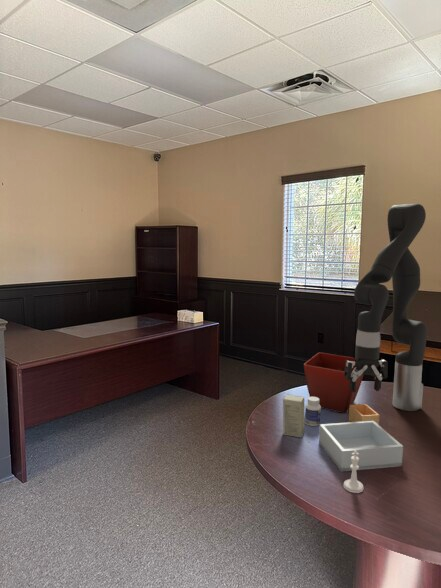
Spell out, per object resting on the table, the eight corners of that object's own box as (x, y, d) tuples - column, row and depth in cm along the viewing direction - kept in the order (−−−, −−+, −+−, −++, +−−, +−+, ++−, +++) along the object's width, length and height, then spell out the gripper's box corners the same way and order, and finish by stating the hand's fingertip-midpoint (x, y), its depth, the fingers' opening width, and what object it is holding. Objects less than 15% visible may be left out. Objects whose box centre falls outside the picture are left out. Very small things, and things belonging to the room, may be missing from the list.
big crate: (372, 438, 131) (373, 420, 131) (401, 466, 116) (403, 446, 115) (318, 442, 129) (319, 424, 128) (341, 471, 113) (342, 451, 112)
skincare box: (304, 432, 135) (305, 397, 133) (301, 438, 131) (302, 401, 130) (285, 428, 138) (286, 393, 136) (281, 434, 134) (282, 398, 132)
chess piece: (340, 481, 108) (342, 446, 107) (358, 481, 109) (360, 445, 107) (347, 493, 104) (349, 456, 102) (366, 492, 104) (368, 455, 103)
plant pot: (365, 400, 161) (367, 359, 158) (353, 419, 145) (355, 373, 142) (317, 391, 171) (318, 351, 168) (301, 407, 154) (302, 364, 152)
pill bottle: (320, 427, 139) (321, 402, 138) (304, 425, 140) (305, 401, 139) (320, 420, 144) (321, 396, 143) (304, 419, 145) (305, 395, 144)
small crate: (364, 420, 144) (365, 403, 143) (378, 432, 136) (379, 415, 135) (348, 421, 143) (349, 404, 142) (361, 433, 135) (362, 416, 134)
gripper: (381, 340, 140) (378, 386, 142) (342, 341, 138) (339, 387, 140) (394, 346, 133) (390, 394, 135) (352, 347, 130) (349, 396, 133)
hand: (364, 390), depth 137 cm, fingers open, 8 cm apart
